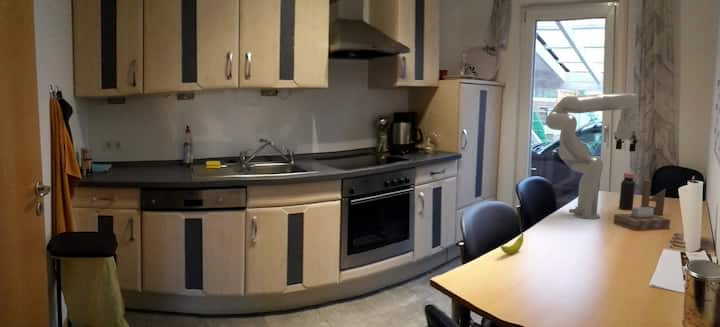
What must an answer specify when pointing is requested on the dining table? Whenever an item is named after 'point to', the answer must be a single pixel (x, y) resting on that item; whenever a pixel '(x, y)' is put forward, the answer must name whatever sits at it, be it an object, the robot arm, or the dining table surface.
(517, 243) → the banana
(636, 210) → the grey bar
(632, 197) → the bottle
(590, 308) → the dining table surface
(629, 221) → the post base
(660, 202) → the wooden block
